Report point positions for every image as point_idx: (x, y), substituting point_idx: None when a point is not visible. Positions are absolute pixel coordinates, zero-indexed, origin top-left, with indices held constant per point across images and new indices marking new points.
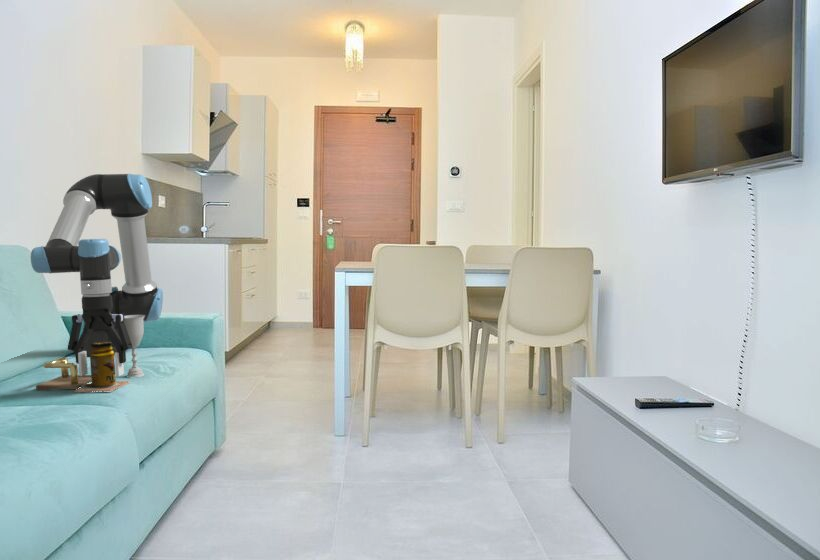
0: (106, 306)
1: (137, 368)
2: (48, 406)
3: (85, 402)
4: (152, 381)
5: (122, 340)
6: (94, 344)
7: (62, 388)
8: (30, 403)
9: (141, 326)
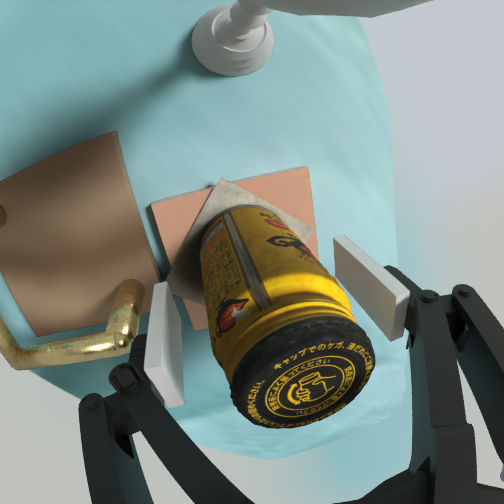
0: None
1: (260, 33)
2: None
3: None
4: (373, 123)
5: (466, 364)
6: (294, 426)
7: None
8: (175, 410)
9: None
